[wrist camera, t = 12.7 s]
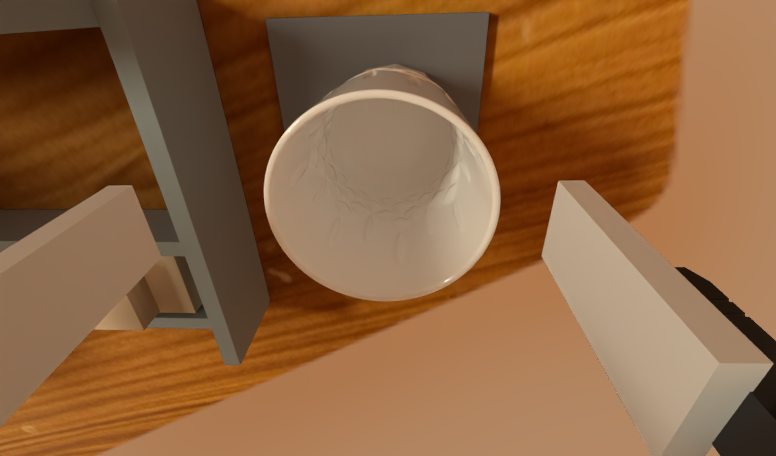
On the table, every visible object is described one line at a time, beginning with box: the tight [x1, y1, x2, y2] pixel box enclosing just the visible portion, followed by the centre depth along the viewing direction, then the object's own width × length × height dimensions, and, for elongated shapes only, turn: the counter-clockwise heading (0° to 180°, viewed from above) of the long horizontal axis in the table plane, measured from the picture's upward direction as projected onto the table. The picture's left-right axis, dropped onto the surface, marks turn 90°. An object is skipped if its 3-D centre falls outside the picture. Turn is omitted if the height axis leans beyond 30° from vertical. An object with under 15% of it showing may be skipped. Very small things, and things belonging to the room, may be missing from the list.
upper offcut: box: [94, 276, 160, 330], centre depth 24 cm, size 13×5×2 cm, turn 91°
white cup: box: [264, 64, 501, 301], centre depth 17 cm, size 8×8×10 cm
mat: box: [265, 12, 489, 134], centre depth 21 cm, size 11×11×1 cm
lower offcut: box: [144, 256, 202, 313], centre depth 26 cm, size 16×5×2 cm, turn 91°
